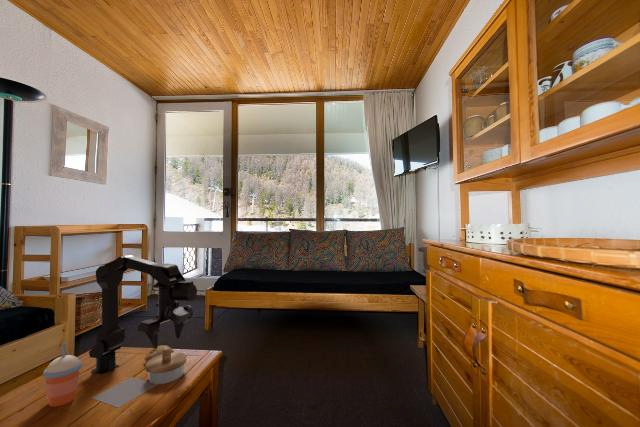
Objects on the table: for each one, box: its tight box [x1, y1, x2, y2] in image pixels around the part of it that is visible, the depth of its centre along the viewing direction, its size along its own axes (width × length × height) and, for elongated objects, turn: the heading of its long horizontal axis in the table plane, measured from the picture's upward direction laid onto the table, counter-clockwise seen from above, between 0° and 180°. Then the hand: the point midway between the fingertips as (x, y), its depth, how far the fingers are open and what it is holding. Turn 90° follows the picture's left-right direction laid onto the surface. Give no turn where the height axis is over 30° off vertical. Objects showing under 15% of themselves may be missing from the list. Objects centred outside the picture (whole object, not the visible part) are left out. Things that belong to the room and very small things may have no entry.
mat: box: [91, 376, 158, 409], centre depth 93 cm, size 13×13×1 cm
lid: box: [145, 347, 187, 373], centre depth 103 cm, size 13×13×5 cm
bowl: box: [147, 364, 185, 385], centre depth 103 cm, size 11×11×4 cm
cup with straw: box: [42, 341, 83, 408], centre depth 89 cm, size 9×9×18 cm
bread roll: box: [143, 345, 175, 364], centre depth 114 cm, size 10×10×8 cm
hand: (167, 343), depth 103 cm, fingers open, 9 cm apart
